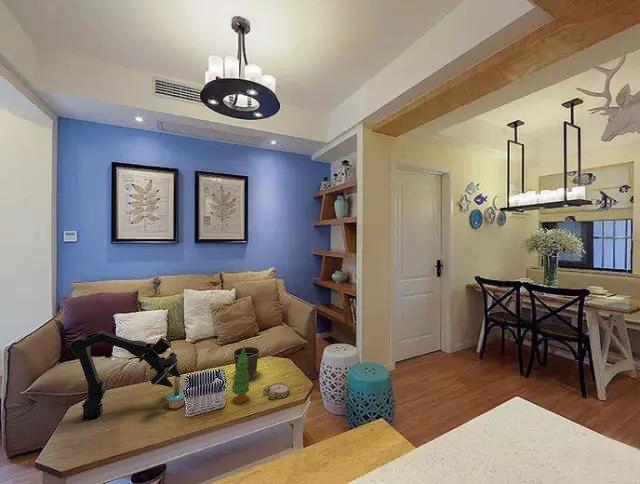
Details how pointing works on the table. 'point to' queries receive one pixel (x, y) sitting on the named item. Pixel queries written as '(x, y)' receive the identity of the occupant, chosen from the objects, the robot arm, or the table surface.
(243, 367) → the decorative tree
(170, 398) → the teal stand with rod
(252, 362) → the plant pot
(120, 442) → the table surface
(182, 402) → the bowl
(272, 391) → the candle holder
